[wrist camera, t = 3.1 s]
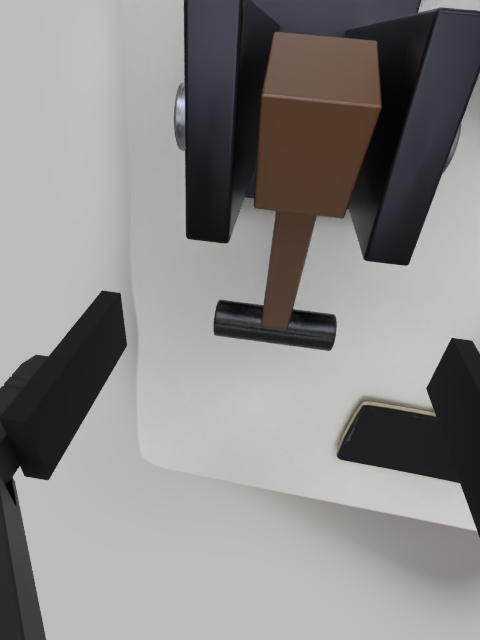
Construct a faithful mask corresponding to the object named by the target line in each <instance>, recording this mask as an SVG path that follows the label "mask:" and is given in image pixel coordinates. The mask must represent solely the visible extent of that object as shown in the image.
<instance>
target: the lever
mask: <svg viewBox="0 0 480 640" xmlns="http://www.w3.org/2000/svg"><path fill="white" fill-rule="evenodd" d="M381 108H382V105H381V90H380V76H379V61H378V47H377V41H372V40H361V39H350V38H339V37H328V36H317V35H306V34H294V33H283V32H274V34H273V38H272V43H271V48H270V53H269V58H268V63H267V68H266V73H265V78H264V83H263V88H262V93H261V103H260V118H259V134H258V150H257V165H256V181H255V197H254V207H255V208H257V209H265V210H274V211H276V215H275V223H274V230H273V238H272V246H271V253H270V261H269V269H268V276H267V284H266V292H265V299H264V305H257V304H250V303H242V302H234V301H227V300H219V301H218V303H217V306H216V311H215V317H214V335H216V336H222V337H230V338H237V339H245V340H252V341H259V342H267V343H274V344H282V345H289V346H296V347H304V348H311V349H319V350H326V351H330V350H331V349H332V347H333V345H334V341H335V336H336V327H337V321H336V316H335V315H334V314H327V313H319V312H311V311H304V310H296V309H293V306H294V303H295V299H296V295H297V291H298V287H299V283H300V279H301V275H302V271H303V268H304V264H305V260H306V256H307V252H308V248H309V244H310V240H311V236H312V232H313V229H314V225H315V221H316V217H317V216H326V217H334V218H344V216H345V213H346V211H347V208H348V205H349V202H350V199H351V196H352V193H353V190H354V187H355V184H356V181H357V178H358V175H359V173H360V170H361V167H362V164H363V161H364V158H365V155H366V152H367V149H368V146H369V143H370V140H371V137H372V134H373V132H374V129H375V126H376V123H377V120H378V117H379V114H380V111H381Z"/></svg>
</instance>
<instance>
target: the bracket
mask: <svg viewBox="0 0 480 640" xmlns="http://www.w3.org/2000/svg"><path fill="white" fill-rule="evenodd" d="M420 3H421V0H184V66H185V82H184V83H181V84H180V86H179V88H178V91H177V95H176V100H175V109H174V128H175V137H176V141H177V145H178V147H179V149H181V150H182V151H185V176H186V236H187V238H188V239H192V240H201V241H209V242H217V243H228V242H229V240H230V237H231V235H232V232H233V229H234V226H235V223H236V220H237V217H238V215H239V212H240V209H241V206H242V203H243V200H244V197H247V198H254V197H255V181H256V165H257V150H258V134H259V118H260V103H261V93H262V88H263V83H264V78H265V73H266V68H267V63H268V58H269V53H270V48H271V43H272V38H273V34H274V32H283V33H294V34H306V35H317V36H328V37H339V38H350V39H361V40H372V41H377V47H378V61H379V76H380V90H381V105H382V108H381V111H380V114H379V117H378V120H377V123H376V126H375V129H374V132H373V134H372V137H371V140H370V143H369V146H368V149H367V152H366V155H365V158H364V161H363V164H362V167H361V170H360V173H359V175H358V178H357V181H356V184H355V187H354V190H353V193H352V196H351V199H350V202H349V205H348V208H347V209H349V211H350V215H351V218H352V221H353V225H354V228H355V231H356V235H357V238H358V241H359V245H360V248H361V251H362V255H363V258H364V260H366V261H372V262H380V263H388V264H396V265H405V266H406V265H408V264H409V262H410V260H411V257H412V254H413V251H414V249H415V246H416V243H417V241H418V238H419V235H420V233H421V230H422V227H423V224H424V222H425V219H426V216H427V214H428V211H429V208H430V205H431V203H432V200H433V197H434V195H435V192H436V189H437V187H438V184H439V181H440V178H441V176H442V174H443V173H444V171H445V170H446V169H447V167H448V165H449V164H450V162H451V160H452V158H453V155H454V153H455V150H456V147H457V144H458V141H459V136H460V130H461V122H462V119H463V116H464V113H465V111H466V108H467V105H468V103H469V100H470V97H471V94H472V92H473V89H474V86H475V84H476V81H477V78H478V75H479V73H480V11H476V10H464V9H452V8H437V9H433V10H429V11H424V12H420V13H418V10H419V7H420Z"/></svg>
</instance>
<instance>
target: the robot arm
mask: <svg viewBox="0 0 480 640" xmlns="http://www.w3.org/2000/svg"><path fill="white" fill-rule="evenodd" d="M126 346H127V342H126V334H125V326H124V318H123V310H122V302H121V294H120V293H116V292H108V291H101V293H100V294H99V295H98V296H97V298H96V299H95V300H94V301H93V303H92V304H91V305H90V306H89V307H88V309H87V310H86V311H85V312H84V314H83V315H82V316H81V317H80V319H79V320H78V321H77V322H76V323H75V325H74V326H73V327H72V328H71V330H70V331H69V332H68V333H67V335H66V336H65V337H64V338H63V339H62V341H61V342H60V343H59V344H58V346H57V347H56V348H55V349H54V351H53V352H52V353H51V354H50V355H49V357H48V356H41V355H35V356H33V357H32V358H30V359H29V360H27V361H25V362H24V363H22V364H21V365H20V366H19V368H18V369H17V370H16V371H15V372H14V373H13V374H12V377H10V378H9V379H8V380H7V381H6V382H5V384H4V386H2V387H1V388H0V640H46V637H45V632H44V627H43V622H42V617H41V612H40V607H39V602H38V597H37V592H36V587H35V582H34V576H33V571H32V566H31V561H30V556H29V551H28V546H27V541H26V536H25V532H24V526H23V521H22V516H21V511H20V506H19V501H18V496H17V491H16V486H15V481H14V479H13V475H14V474H15V472H16V471H17V469H18V468H19V466H20V467H21V469H22V471H23V473H24V476H26V477H32V478H38V479H44V480H49V478H50V477H51V475H52V473H53V472H54V470H55V468H56V466H57V465H58V463H59V461H60V460H61V458H62V456H63V454H64V453H65V451H66V449H67V447H68V446H69V444H70V442H71V441H72V439H73V437H74V435H75V434H76V432H77V430H78V429H79V427H80V425H81V424H82V422H83V420H84V418H85V417H86V415H87V413H88V411H89V410H90V408H91V406H92V405H93V403H94V401H95V399H96V398H97V396H98V394H99V393H100V391H101V389H102V387H103V386H104V384H105V382H106V381H107V379H108V377H109V375H110V374H111V372H112V370H113V369H114V367H115V365H116V363H117V362H118V360H119V358H120V357H121V355H122V353H123V351H124V350H125V348H126ZM426 389H427V392H428V395H429V397H430V400H431V403H432V406H433V409H434V411H435V414H436V417H437V420H438V422H439V425H440V428H441V431H442V434H443V436H444V439H445V442H446V445H447V448H448V450H449V453H450V456H451V459H452V461H453V464H454V467H455V470H456V473H457V475H458V478H459V481H460V484H461V487H462V489H463V492H464V495H465V498H466V500H467V503H468V506H469V509H470V512H471V514H472V517H473V520H474V523H475V525H476V528H477V531H478V534H479V537H480V354H479V352H478V350H477V348H476V347H475V345H474V343H473V341H470V340H463V339H455V338H452V339H451V341H450V343H449V345H448V347H447V349H446V350H445V352H444V354H443V356H442V358H441V360H440V362H439V364H438V366H437V368H436V370H435V372H434V374H433V376H432V378H431V380H430V382H429V384H428V386H427V388H426Z"/></svg>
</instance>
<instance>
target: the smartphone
mask: <svg viewBox="0 0 480 640" xmlns="http://www.w3.org/2000/svg"><path fill="white" fill-rule="evenodd" d="M337 457H338V458H339V459H341V460H345V461H350V462H356V463H361V464H366V465H372V466H377V467H383V468H388V469H393V470H398V471H403V472H408V473H413V474H418V475H423V476H428V477H433V478H438V479H443V480H448V481H452V482H457V483H460V481H459V478H458V475H457V473H456V470H455V467H454V464H453V461H452V459H451V456H450V453H449V450H448V448H447V445H446V442H445V439H444V436H443V434H442V431H441V428H440V425H439V422H438V420H437V417H436V414H435V413H434V412H428V411H423V410H418V409H412V408H407V407H401V406H395V405H389V404H382V403H376V402H368V401H365V402H363V403H361V404H360V406H359V407H358V409H357V410H356V412H355V413H354V415H353V417H352V418H351V420H350V422H349V424H348V426H347V428H346V430H345V432H344V434H343V436H342V439H341V441H340V444H339V446H338V449H337Z"/></svg>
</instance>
